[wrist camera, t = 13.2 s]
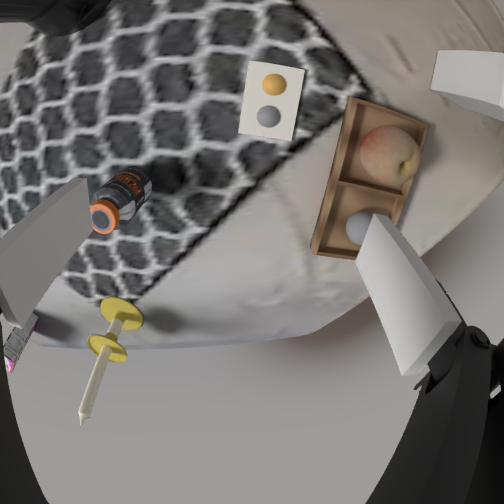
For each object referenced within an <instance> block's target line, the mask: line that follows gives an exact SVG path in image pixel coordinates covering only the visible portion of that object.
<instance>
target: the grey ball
mask: <svg viewBox="0 0 504 504" xmlns="http://www.w3.org/2000/svg"><path fill="white" fill-rule="evenodd" d="M372 217H373V215H372V214H370V213H368V212H365V211H358V212H355V213H354V214H352V215H351V216H350V217H349V218H348V220H347V223H346V233H347V236H348V237H349V239H350V240H351V241H352V242H353V243H355V244H358V245H362V244H363V241H364V238H365V236H366V233H367V231H368V228H369V225H370V222H371V220H372Z"/></svg>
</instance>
